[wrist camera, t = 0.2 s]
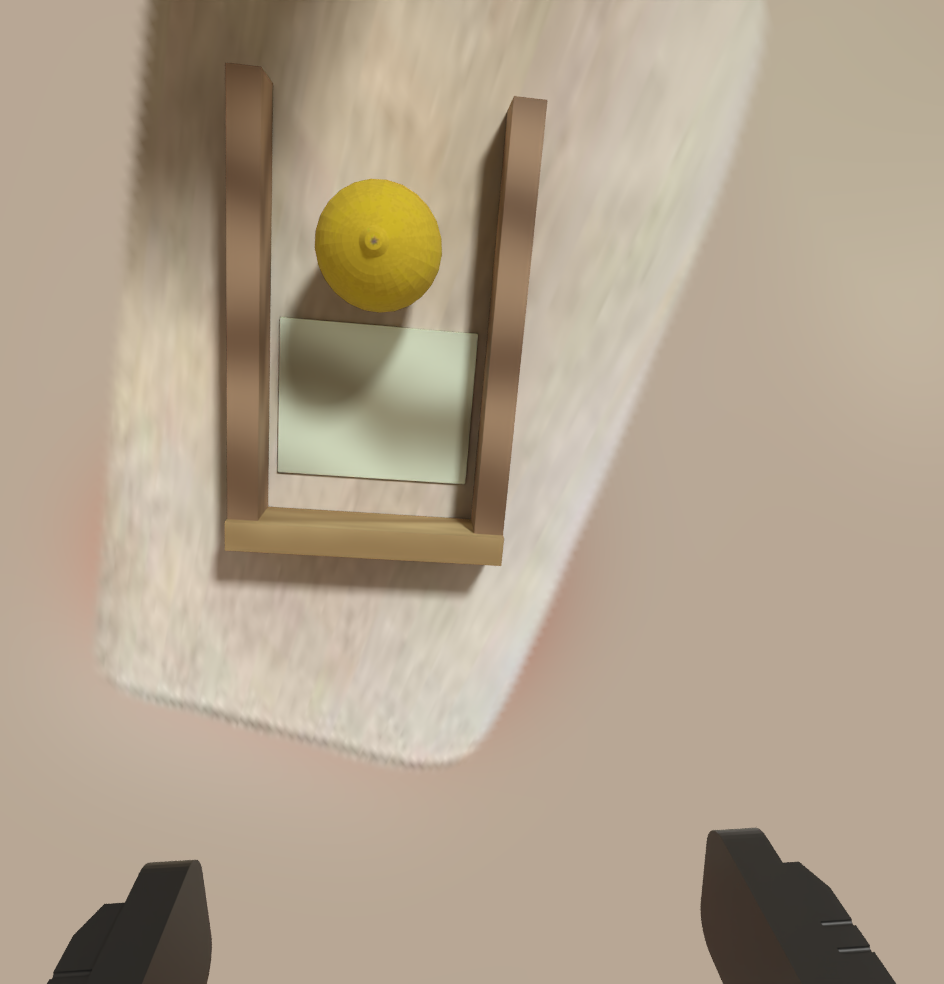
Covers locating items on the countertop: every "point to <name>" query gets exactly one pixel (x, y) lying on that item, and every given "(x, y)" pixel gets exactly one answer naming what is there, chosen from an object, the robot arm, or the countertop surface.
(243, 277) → the brown wooden u-shaped frame
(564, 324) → the countertop surface
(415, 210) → the lemon
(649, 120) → the countertop surface
